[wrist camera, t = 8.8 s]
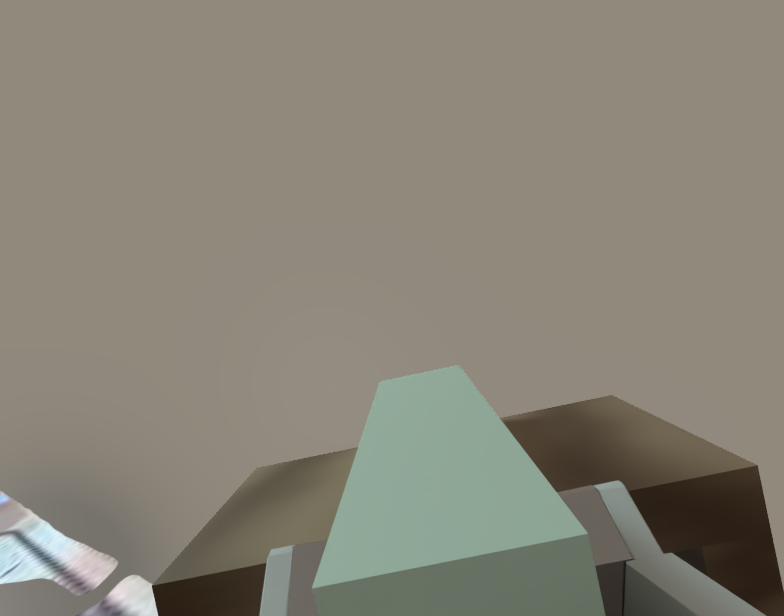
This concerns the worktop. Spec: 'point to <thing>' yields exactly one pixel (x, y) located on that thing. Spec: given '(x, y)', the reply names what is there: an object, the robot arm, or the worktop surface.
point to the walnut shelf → (558, 465)
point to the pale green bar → (450, 516)
